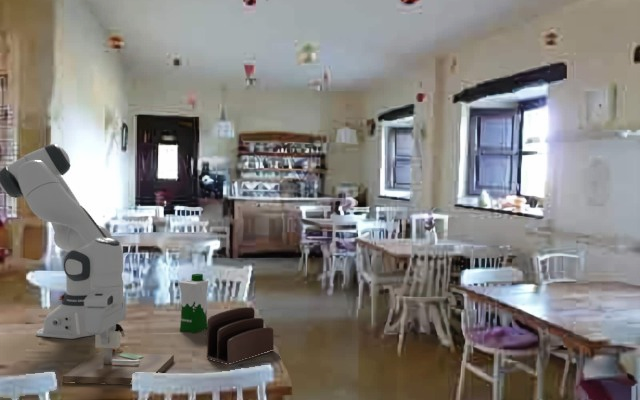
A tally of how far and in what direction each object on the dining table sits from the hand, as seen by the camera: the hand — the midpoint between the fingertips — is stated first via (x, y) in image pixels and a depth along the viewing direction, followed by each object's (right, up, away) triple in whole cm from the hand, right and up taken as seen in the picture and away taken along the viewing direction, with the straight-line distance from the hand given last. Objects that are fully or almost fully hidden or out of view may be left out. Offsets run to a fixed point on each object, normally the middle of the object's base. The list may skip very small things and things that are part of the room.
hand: (107, 342), depth 179 cm
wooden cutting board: (+4, -8, 0) cm, 9 cm away
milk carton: (+15, -7, +47) cm, 50 cm away
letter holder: (+36, -8, +17) cm, 41 cm away
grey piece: (+3, -6, 0) cm, 7 cm away
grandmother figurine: (-5, -8, +20) cm, 22 cm away
